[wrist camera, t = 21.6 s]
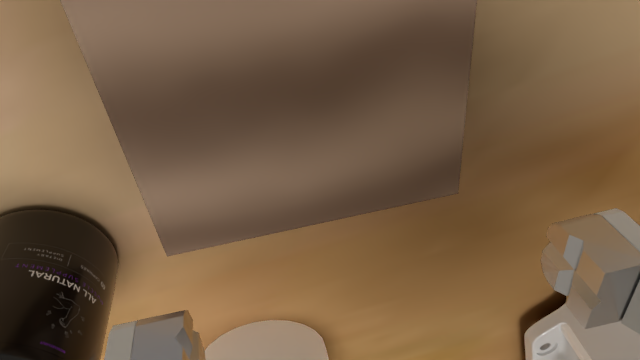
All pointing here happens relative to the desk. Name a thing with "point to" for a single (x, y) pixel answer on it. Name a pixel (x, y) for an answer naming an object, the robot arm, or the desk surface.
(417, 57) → the walnut riser
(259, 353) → the cylinder with rectangular tab
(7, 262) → the supplement bottle
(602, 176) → the desk surface
